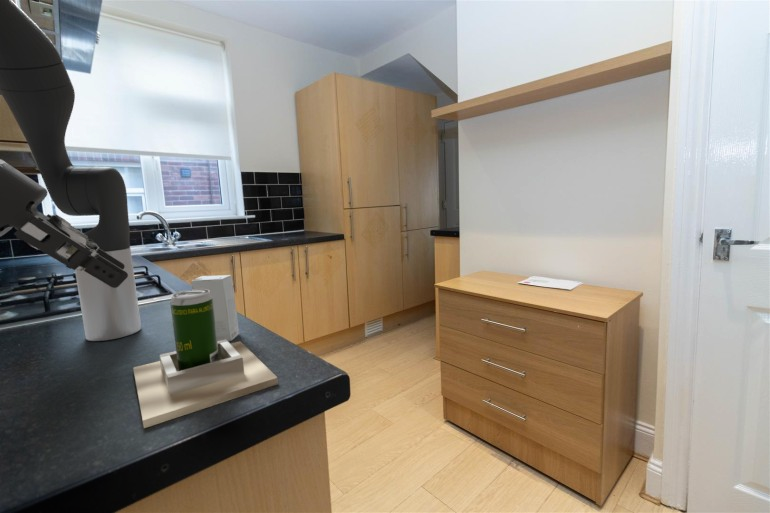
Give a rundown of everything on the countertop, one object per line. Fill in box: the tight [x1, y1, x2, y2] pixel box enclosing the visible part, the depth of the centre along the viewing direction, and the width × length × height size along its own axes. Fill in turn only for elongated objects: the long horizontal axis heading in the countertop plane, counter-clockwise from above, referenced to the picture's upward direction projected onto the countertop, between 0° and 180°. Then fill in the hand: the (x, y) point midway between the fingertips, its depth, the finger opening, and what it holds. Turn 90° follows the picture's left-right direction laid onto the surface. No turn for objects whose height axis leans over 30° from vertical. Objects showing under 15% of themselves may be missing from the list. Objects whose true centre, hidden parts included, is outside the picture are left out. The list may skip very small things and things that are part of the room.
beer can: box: [169, 289, 219, 371], centre depth 53 cm, size 5×5×12 cm
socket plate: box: [132, 339, 279, 429], centre depth 54 cm, size 18×16×4 cm
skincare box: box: [190, 274, 240, 342], centre depth 70 cm, size 6×4×12 cm
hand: (121, 276), depth 47 cm, fingers open, 8 cm apart
